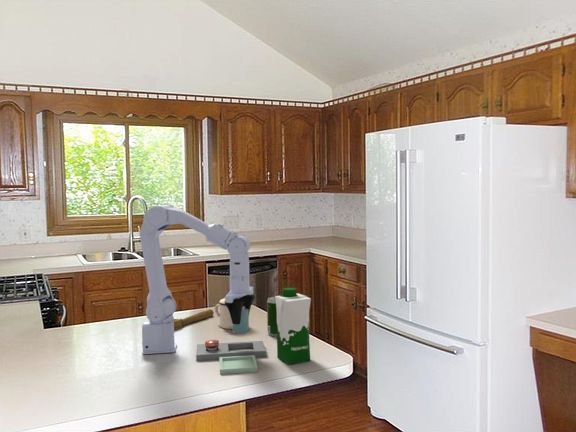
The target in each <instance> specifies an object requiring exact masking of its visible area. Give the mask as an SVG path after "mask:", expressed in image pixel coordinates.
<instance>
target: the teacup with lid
mask: <svg viewBox="0 0 576 432" xmlns="http://www.w3.org/2000/svg"><path fill="white" fill-rule="evenodd" d="M218 308H219V310H218ZM214 313H215V314H216V317H218V318H219V326H220V327H221V328H222V329H228V330H233V325H232V320H231V316H230V313H229V310H228V308H227V306H226V305H225V297H224V298H222V299H220V300H219V302H218V303H217V304H216V305H214Z"/></svg>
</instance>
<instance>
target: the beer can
mask: <svg viewBox="0 0 576 432" xmlns="http://www.w3.org/2000/svg"><path fill="white" fill-rule="evenodd" d="M266 314H267V316H266V319H267V322H266V323H267V333H268V334H267V335H269V336H271V337H277V309H276V299H275V296H271V297H267V301H266Z"/></svg>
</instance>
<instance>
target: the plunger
mask: <svg viewBox="0 0 576 432" xmlns="http://www.w3.org/2000/svg"><path fill="white" fill-rule="evenodd" d="M219 343H220V341H219V340H218V339H209V340H205V342H204V344H205V347H207V351H214V350H217V347H218V346H219Z"/></svg>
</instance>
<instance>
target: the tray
mask: <svg viewBox="0 0 576 432" xmlns="http://www.w3.org/2000/svg"><path fill="white" fill-rule="evenodd" d="M256 358H257V357H255V355H249V356H233V357H219V359H218V361H219V375H225V374H227V375H229V374H243V373H255V372H256V373H257V372H259V366H258V363H257V360H256Z"/></svg>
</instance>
